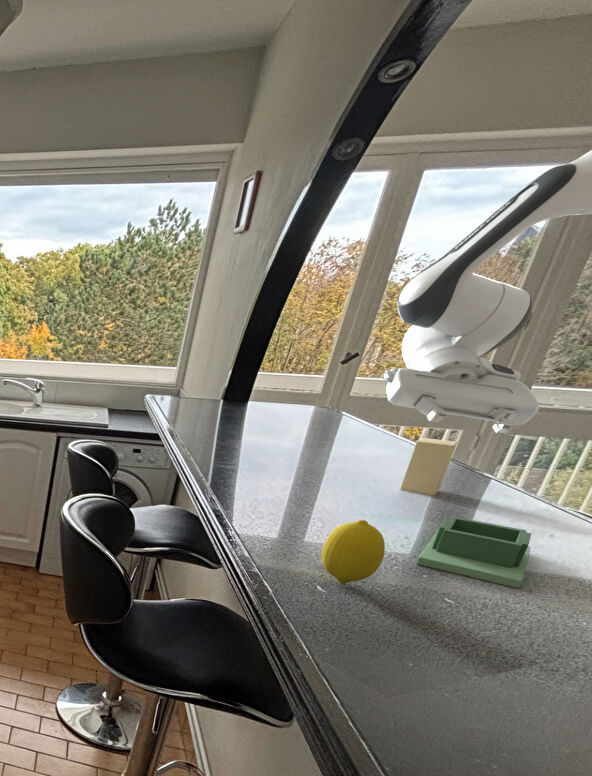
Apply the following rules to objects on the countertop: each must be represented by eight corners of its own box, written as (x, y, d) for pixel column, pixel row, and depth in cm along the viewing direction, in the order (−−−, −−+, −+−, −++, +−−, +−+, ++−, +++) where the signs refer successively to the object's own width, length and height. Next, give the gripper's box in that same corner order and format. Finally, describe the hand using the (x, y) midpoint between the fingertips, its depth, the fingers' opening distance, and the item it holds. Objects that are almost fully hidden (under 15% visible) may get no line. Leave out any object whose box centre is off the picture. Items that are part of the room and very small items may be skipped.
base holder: (436, 534, 85) (446, 508, 83) (527, 553, 79) (540, 525, 77) (416, 564, 75) (427, 535, 74) (518, 588, 69) (533, 557, 67)
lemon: (347, 596, 67) (370, 530, 64) (302, 576, 72) (321, 514, 69) (383, 590, 68) (407, 526, 65) (337, 571, 73) (357, 510, 70)
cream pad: (401, 493, 103) (421, 437, 100) (435, 499, 100) (457, 441, 96) (396, 498, 101) (416, 441, 97) (431, 505, 97) (453, 445, 94)
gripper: (393, 352, 105) (411, 396, 96) (530, 372, 100) (562, 420, 92) (371, 382, 110) (386, 426, 101) (501, 403, 105) (528, 451, 97)
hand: (471, 424), depth 96 cm, fingers open, 8 cm apart
